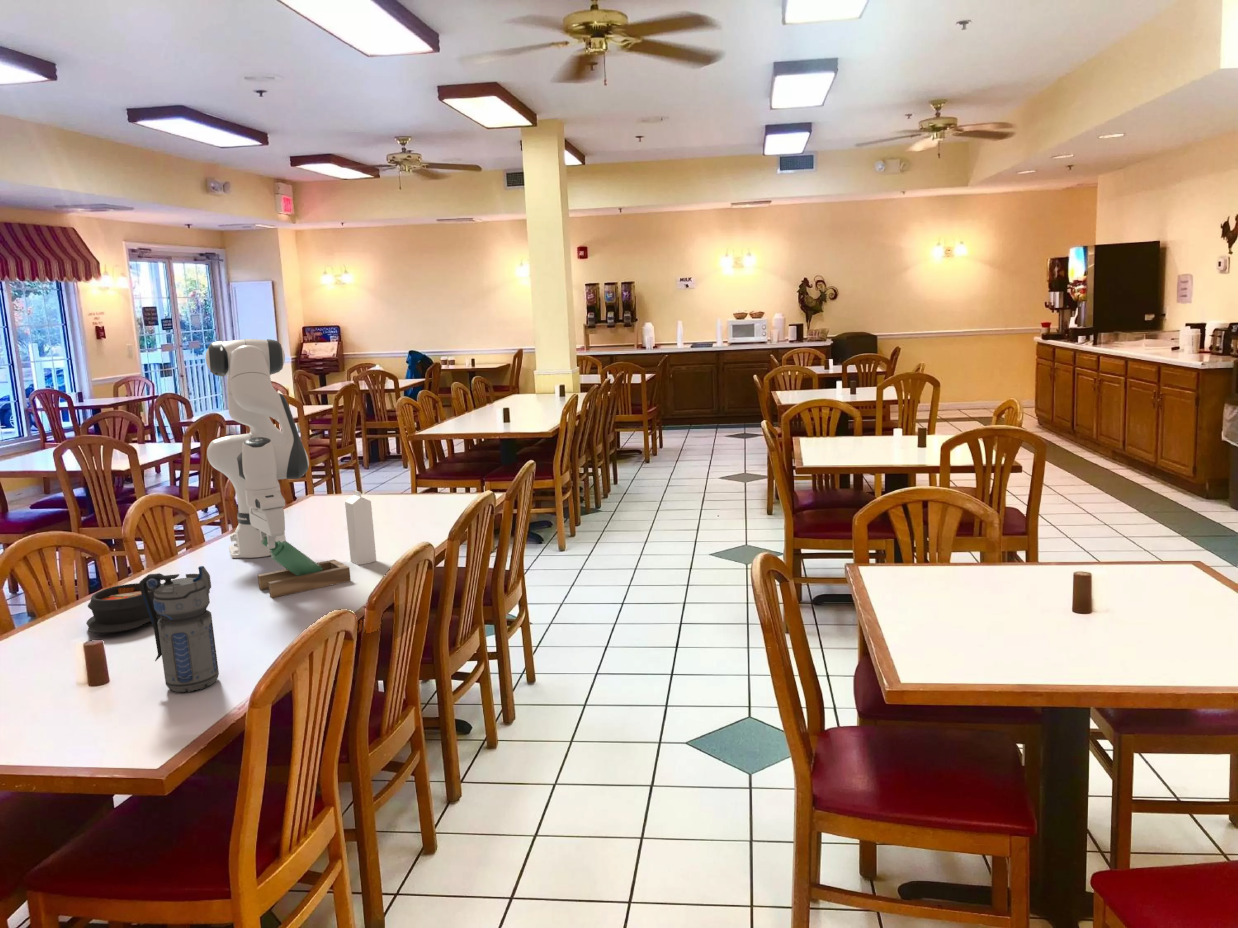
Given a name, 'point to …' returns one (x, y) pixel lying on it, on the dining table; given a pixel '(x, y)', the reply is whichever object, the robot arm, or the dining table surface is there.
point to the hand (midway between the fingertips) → (269, 546)
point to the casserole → (118, 609)
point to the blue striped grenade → (183, 628)
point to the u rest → (303, 579)
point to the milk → (360, 529)
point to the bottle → (292, 558)
